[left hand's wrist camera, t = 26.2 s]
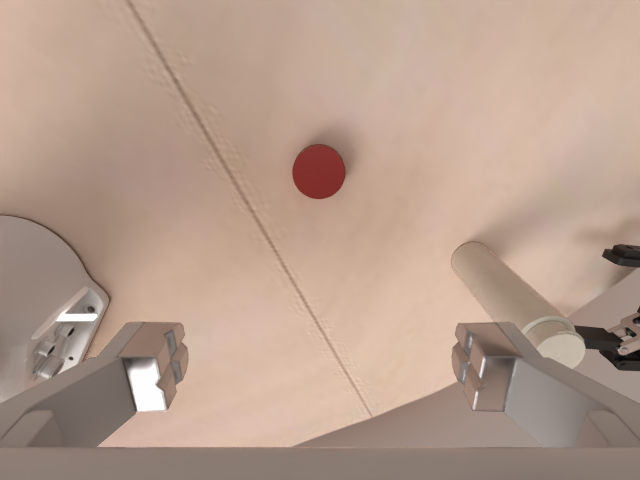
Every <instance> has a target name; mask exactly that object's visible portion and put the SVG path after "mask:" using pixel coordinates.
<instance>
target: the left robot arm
mask: <svg viewBox="0 0 640 480" xmlns="http://www.w3.org/2000/svg"><path fill="white" fill-rule="evenodd" d="M108 304H109V297H108V295H107V294H106V293H105V292H104V291H103V290H102V288H100V287H99V286H98V285H97V284H96V283H95V282H94V281H93V280H92V279H91V278H90V277H89V275H88V274H87V272H86V270H85V268H84V266H83V264H82V263H81V261H80V259H79V258H78V256H77V255H76V254H75V252H74V251H73V250H72V249H71V248H70V247H69V246H68V245H67V244H66V243H65V242H64V241H63V240H62V239H61V238H60V237H58V236H57V235H56V234H54V233H53V232H51V231H50V230H48V229H46V228H45V227H43V226H41V225H39V224H37V223H34V222H32V221H29V220H26V219H22V218H18V217H13V216H2V215H0V480H640V403H638V402H636V401H634V400H632V399H630V398H628V397H626V396H624V395H622V394H620V393H618V392H616V391H614V390H612V389H610V388H608V387H606V386H604V385H602V384H600V383H598V382H596V381H595V380H593V379H591V378H589V377H587V376H585V375H583V374H581V373H579V372H577V371H575V370H573V369H571V368H569V367H567V366H565V365H563V364H561V363H559V362H557V361H555V360H553V359H551V358H548V357H543V356H542V355H541V354H540V353H539V352H538V350H537V349H536V348H535V347H534V346H533V345H532V344H531V342H530V341H529V340H528V339H527V338H526V337H525V336H524V334H523V333H522V332H521V331H520V330H519V329H518V327H517V326H516V325H515V324H514V323H512V322H493V323H458V325H457V327H456V332H455V336H456V338H457V339H458V341H459V342H458V343H457V344H456V345H455V346H454V347H453V350H452V367H453V370H454V374H455V376H456V378H457V380H458V381H460V382H461V383H462V384H464V385H465V386H464V391H463V392H464V394H465V396H466V398H467V400H468V402H469V404H470V406H471V408H472V410H473V411H492V412H504V413H505V414H506V415H507V416H508V417H509V418H510V419H512V420H513V421H514V422H515V423H516V424H517V425H519V426H520V427H521V428H522V429H523V430H524V431H526V432H527V433H528V434H529V435H530V436H532V437H533V438H534V439H535V440H536V441H538V442H539V443H540V444H541V445H542V446H543V447H97V446H98V445H99V444H100V443H101V442H103V441H104V440H105V439H106V438H107V437H109V436H110V435H111V434H112V433H113V432H114V431H116V430H117V429H118V428H119V427H120V426H122V425H123V424H124V423H125V422H126V421H127V420H129V419H130V418H131V417H132V416H133V415H135V414H136V412H148V411H167V410H168V408H169V406H170V404H171V402H172V400H173V398H174V396H175V394H176V392H177V391H176V386H175V385H176V384H178V383H179V382H180V381H182V380H183V378H184V376H185V373H186V370H187V366H188V349H187V347H186V346H185V345H184V344H183V343H182V342H181V341H182V339H183V338H184V336H185V332H184V327H183V325H182V324H181V323H176V322H129V323H126V324H125V325H124V326H123V327H122V329H121V330H120V331H119V332H118V333H117V334H116V335H115V337H114V338H113V339H112V340H111V341H110V342H109V344H108V345H107V346H106V347H105V348H104V349H103V350H102V352H101V353H100V354H99V355H98V356H97V357H93V358H89V359H87V360H85V361H83V359H84V356H85V354H86V352H87V350H88V348H89V346H90V343H91V341H92V339H93V337H94V335H95V333H96V330H97V328H98V326H99V324H100V322H101V320H102V317H103V315H104V313H105V311H106V309H107V307H108ZM91 306H92V307H93V308H94V309H93V308H92V307H91ZM82 361H83V362H82Z"/></svg>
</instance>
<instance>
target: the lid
mask: <svg viewBox="0 0 640 480" xmlns="http://www.w3.org/2000/svg"><path fill="white" fill-rule="evenodd" d="M344 178H345V167H344V164H343V161H342V159H341V157H340V155H339V154H338V153H337V152H336V151H335V150H334V149H333V148H331V147H329V146H326V145H322V144H316V145H311V146H308V147H307V148H305V149H304V150H302V151H301V152H300V153H299V155H298V156H297V158H296V160H295V163H294V166H293V180H294V183H295V185H296V187H297V188H298V189H299V190H300V191H301V192H302V193H303V194H304V195H306V196H308V197H310V198H314V199H324V198H327V197H330V196H332V195H333V194H335V193H336V192H337V191H338V190H339V189H340V187H341V186H342V184H343V182H344Z"/></svg>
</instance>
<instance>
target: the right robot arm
mask: <svg viewBox="0 0 640 480" xmlns="http://www.w3.org/2000/svg"><path fill="white" fill-rule="evenodd" d="M602 257H604V258H606V259H607V260H609V261H611V262H613V263H615V264H617V265H621V266H630V267H640V246H632V245H631V246H630V245H622V244H619V245H615V246H614V247H613V249H605V250H604V252H603V255H602ZM637 312H638V313H635V314H633V315H631V316H628V317H626V318H624V319H622V320H621V324H620V325H618V326H615V327H613V328H611V329H608V330H605V329H604V328H595V327H584V326H574V327H575V331H576V332H577V333H578V334H579V335H580V336H581V337H582V338H583V340H584V344H585V348H586V349H597V350H599V352H600V353H601V354H602V355H603V356H604V357H606V358H607V359H608V360H609V361H610V362H611V363H612V364H613V365H614V366H615V367H616V368H617V369H618V370H625V371H640V327H639V326H640V307H639V309H638V311H637ZM627 335H629V336H632V337H633V338H630V339H628V340H626V341H623V340H622V339H621V338H622V337H624V336H627Z"/></svg>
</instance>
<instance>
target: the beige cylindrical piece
mask: <svg viewBox="0 0 640 480" xmlns="http://www.w3.org/2000/svg"><path fill="white" fill-rule="evenodd" d="M451 265H452V268H453V270H454V272H455V273H456V274H457V275H458V277H459V278H460V279H461V281H462V282H463V283H464V284H465V286H466V287H467V288H468V290H469V291H470V292H471V293H472V295H473V296H474V297H475V299H476V300H477V301H478V302H479V304H480V305H481V306H482V308H483V309H484V310H485V311H486V313H487V314H488V315H489V316H490V318H491V319H492V320H493V322H512V323H514V324H515V325H516V326H517V327H518V329H519V330H520V331H521V332H522V333H523V334H524V336H525V337H526V338H527V339H528V340H529V341H530V342H531V344H532V345H533V346H534V347H535V348H536V349H537V350H538V352H539V353H540V354H541V355H542V356H543V357H548V358H551V359H553V360H555V361H557V362H559V363H561V364H563V365H565V366H567V367H569V368H571V369H573V368H575V367H576V366H577V365H578V364H579V363H580V362H581V361H582V359H583V357H584V355H585V351H586V348H585V344H584V340H583V338H582V337H581V336H580V335H579V334H578V333H577V332H576V331H575V327H574V325H573V324H572V323H571V322H570V321H569V320H568V319H567V318H566V317H565V316H564V315H563V314H562V313H560V312H559V311H558V310H557V309H556V308H555V307H554V306H553V305H551V304H550V303H549V302H548V301H547V300H546V299H545V298H544V297H542V296H541V295H540V294H539V293H538V292H537V291H536V290H535V289H533V288H532V287H531V286H530V285H529V284H528V283H527V282H526V281H524V280H523V279H522V278H521V277H520V276H519V275H518V274H517V273H515V272H514V271H513V270H512V269H511V268H510V267H509V266H508V265H506V264H505V263H504V262H503V261H502V260H501V259H500V258H499V257H497V256H496V255H495V254H494V253H493V252H492V251H491V250H490V249H488V248H487V247H486V246H485V245H484V244H482V243H479V242H469V243H466V244H463V245H462V246H460V247H459V248H458V249H457V250H456V251H455V252H454V254H453V256H452V260H451Z"/></svg>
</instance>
